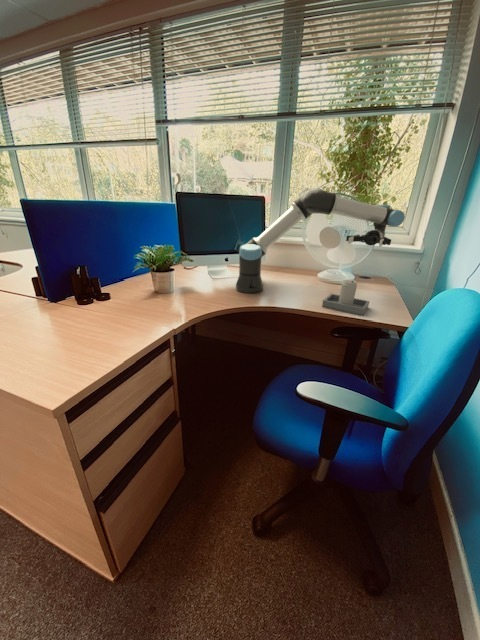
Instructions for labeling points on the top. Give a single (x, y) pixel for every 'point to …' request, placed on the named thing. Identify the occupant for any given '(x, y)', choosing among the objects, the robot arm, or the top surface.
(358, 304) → the tray
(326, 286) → the top surface
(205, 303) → the top surface
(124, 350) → the top surface
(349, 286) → the beverage can
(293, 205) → the robot arm
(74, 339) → the top surface
